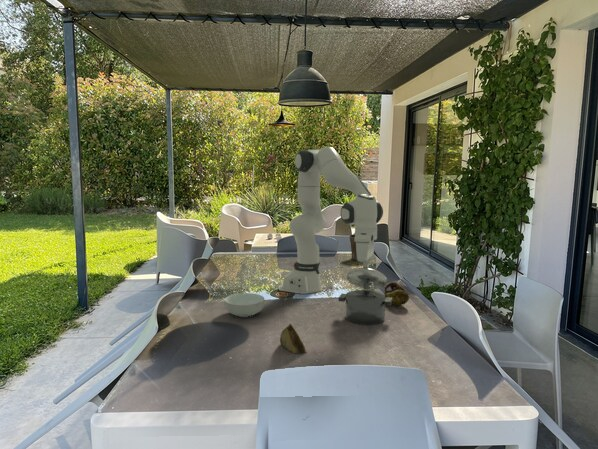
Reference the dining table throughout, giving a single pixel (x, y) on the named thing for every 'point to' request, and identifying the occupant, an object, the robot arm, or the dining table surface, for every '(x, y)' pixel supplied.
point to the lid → (366, 278)
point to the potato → (398, 297)
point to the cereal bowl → (244, 304)
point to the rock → (292, 340)
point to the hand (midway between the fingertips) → (365, 268)
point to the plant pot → (353, 247)
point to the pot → (365, 306)
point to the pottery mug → (393, 287)
